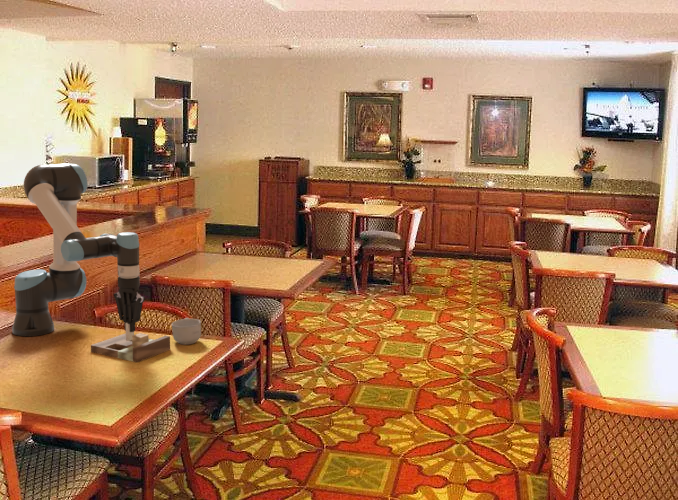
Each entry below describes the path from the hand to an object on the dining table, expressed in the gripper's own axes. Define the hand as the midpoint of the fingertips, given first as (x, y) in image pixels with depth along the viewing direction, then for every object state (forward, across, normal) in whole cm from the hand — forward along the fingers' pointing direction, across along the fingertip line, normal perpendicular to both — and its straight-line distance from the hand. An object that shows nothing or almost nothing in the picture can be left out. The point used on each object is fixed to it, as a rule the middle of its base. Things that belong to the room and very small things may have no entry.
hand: (130, 339), depth 272 cm
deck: (+4, 0, 0) cm, 4 cm away
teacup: (+4, +10, +20) cm, 23 cm away
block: (+2, +5, 0) cm, 5 cm away
